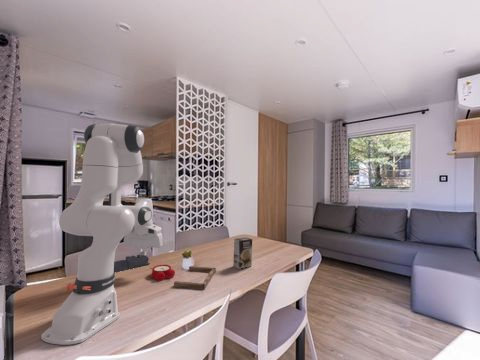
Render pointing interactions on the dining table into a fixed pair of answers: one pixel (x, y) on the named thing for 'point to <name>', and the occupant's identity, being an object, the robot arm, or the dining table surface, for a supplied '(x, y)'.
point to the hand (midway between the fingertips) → (143, 254)
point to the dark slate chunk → (131, 263)
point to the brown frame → (197, 285)
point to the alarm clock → (162, 272)
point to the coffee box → (242, 252)
